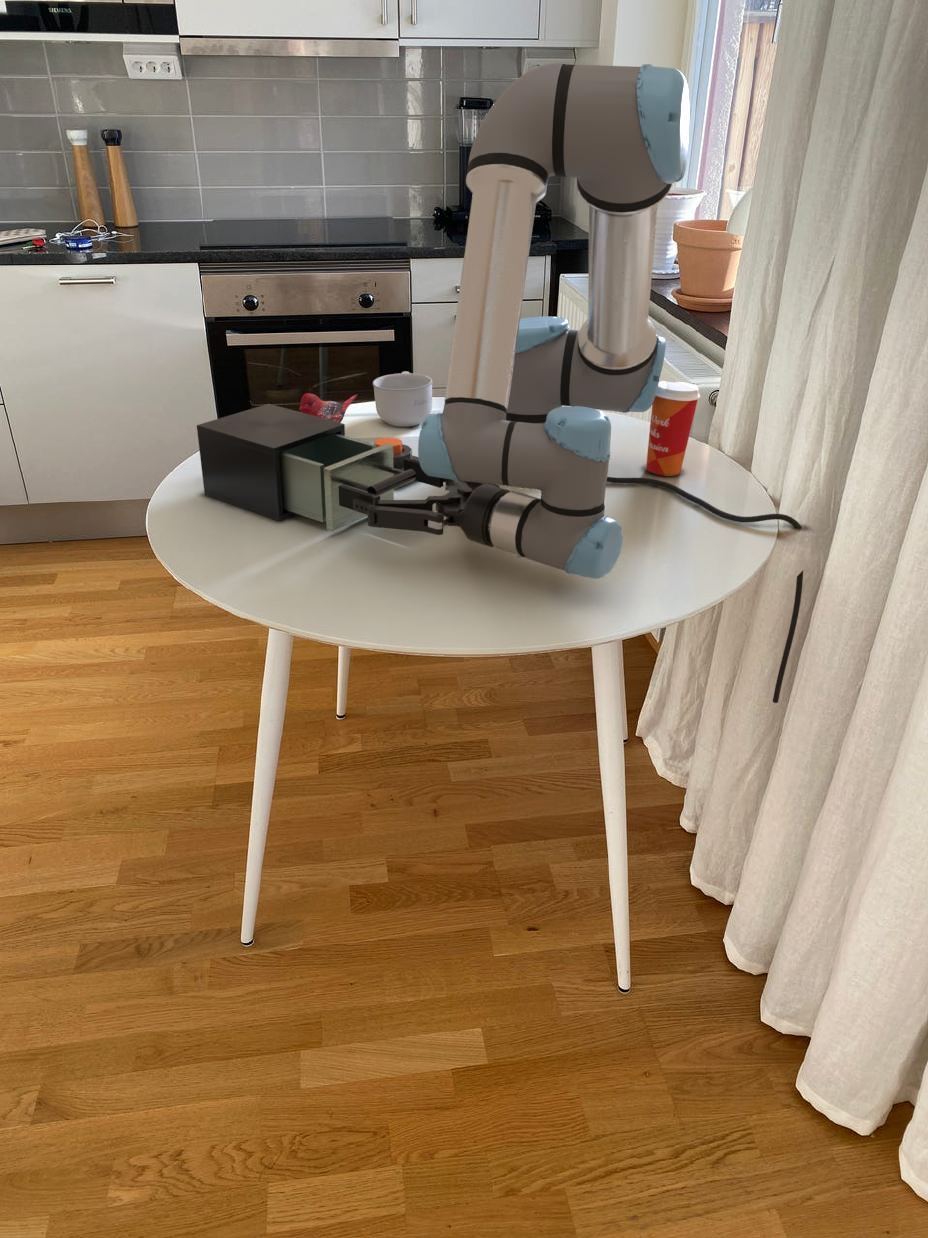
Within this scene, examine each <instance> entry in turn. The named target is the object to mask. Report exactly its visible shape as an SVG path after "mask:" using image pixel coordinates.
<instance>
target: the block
mask: <svg viewBox="0 0 928 1238" xmlns="http://www.w3.org/2000/svg"><path fill="white" fill-rule="evenodd" d="M406 458H409V459H413V460H417V461H419V457H418V456H416V455H413V448H411V447H410V446H409V445H407V444H403V443H402V453H400V454H398V455H393V468H395V469H399V470H402V471H404V459H406ZM395 475H397V474H393V476H395ZM415 482H416V481H415V480H413V481H411V482H408V483H406V484H404V485H402V486H399V487H397V488H395V489H394V490H399V489H402V488H405V487H406V486H408V485H411V484H413V483H415Z"/></svg>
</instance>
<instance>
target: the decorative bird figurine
mask: <svg viewBox="0 0 928 1238" xmlns="http://www.w3.org/2000/svg"><path fill="white" fill-rule="evenodd" d="M357 397H358V394H357V393H356V394H354V395H352V396H351V397H350V398H348V399H347V400H345V401H344V402H343V403H341V402H337V401H332V400H322V399H321V398H319V396H317V395H316V394H314V393H310V392H306V393H304V394H303V395H302V397H301V399H300V406H299V411H300V412H301V413H305V414H309V415H313V416H316V417H320V418H324V419H328V420H331V421H335V422H339V423H342V421H343V419H344V417H345V414H346V411H347V410H348V408H349V407H350V405H351V404H352V403H353V402H354V401H355V399H356V398H357Z"/></svg>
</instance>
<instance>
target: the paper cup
mask: <svg viewBox="0 0 928 1238" xmlns="http://www.w3.org/2000/svg"><path fill="white" fill-rule="evenodd" d="M700 399H701V394H700V389H699V387H698V386H697V385H695V384H692V383H689V382H684V381H676V380H675V381H672V380H668V381H666V380H661V381H660V380H659V384H658V388H657V392H656V395H655V398H654V401H653V404H652V406H651V413H650V422H649V423H650V424H649V435H648V442H647V443H648V444H647V453H646V454H647V456H646V471H648V472H649V473H652V474H654V475H658V476H666V477H674V476H677V475H680V474H681V470H682V468H683V463H684V459H685V455H686V452H687V446H688V443H689V438H690V434H691V430H692V426H693V422H694V417H695V413H696V409H697V406H698V405H697V404H698V400H700Z"/></svg>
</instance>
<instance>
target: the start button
mask: <svg viewBox="0 0 928 1238" xmlns="http://www.w3.org/2000/svg"><path fill="white" fill-rule="evenodd" d="M373 442H374V443H373V444H376V448H377V447H379V446H382V445H384V444H390V445H393V455H398V454H400V453H402V444H403V441H402V439H400V438H397V437H391V436H390V437H389V436H388V437H385V436H384V437H379V438H377V439H375V440H374V441H373Z"/></svg>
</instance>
